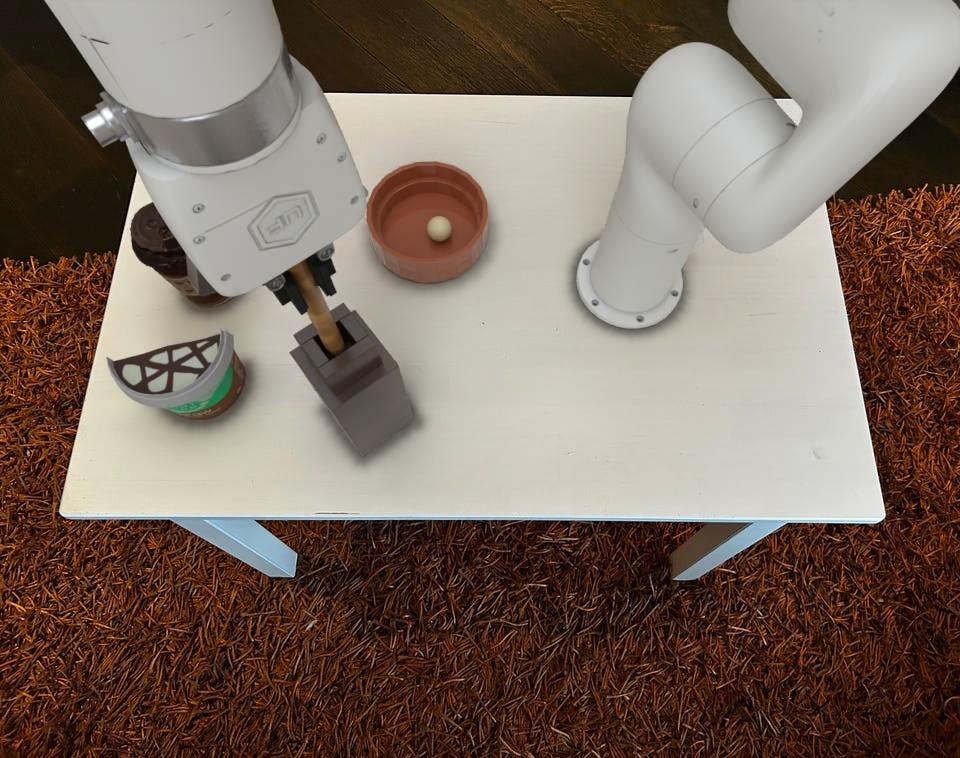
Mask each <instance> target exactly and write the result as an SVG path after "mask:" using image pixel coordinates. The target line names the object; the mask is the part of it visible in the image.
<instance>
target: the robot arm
mask: <svg viewBox="0 0 960 758" xmlns="http://www.w3.org/2000/svg"><path fill="white" fill-rule="evenodd" d="M44 2H45V4H46V5H47V6H48V8H49V10H50V11H51V12H52V13H53V15H54V16H55V18H56V19H57V20H58V22H59V24H60V25H61V26H62V28H63V29H64V30H65V32H66V33H67V35H68V36H69V38H70V39H71V41H72V43H73V44H74V45H75V47H76V48H77V50H78V52H79V53H80V55H82V58H83V59H84V60H85V62H86V63H87V65H88V66H89V68H90V69H91V71H92V72H93V74H94V76H95V77H96V79H97V80H98V81H99V83H100V84H101V86H102V88H104V90H103V91H102V92H100V93H99V96H100V97H101V98H102V100H103V101H101V102H99V103H96V104H95V105H94V106H95V107H96V109H94V110H93V111H90V112H88V113H85V114H84V115H82V116H81V117H80V118H81V120H82V122H83V123H84V125H85V126H86V127H87V129H88V130H89V131H90V132H91V134H92V136H93V138H95V139H96V141H97V142H98V143H99V144H100V146H101V147H102V148H105V147H106V146H108V145H111V144H112V143H114V142H116V141H118V140H119V141H120V142H121V143H122V142H124V141H125V143H126V144H125V145H126V146H127V149H128V153H129V155H130V158H131V160H132V163H133V165H134V167H135V169H136V172H137V174H138V176H139V178H140V180H141V182H142V183H143V185H144V187H145V190H146V192H147V193H148V196H149V197H150V199H151V201H152V202H153V203H154V205H155V206H156V208H157V210H158V211H159V213H160V215H161V216H162V218H163V220H164V221H165V223H166V224H167V226H168V228H169V229H170V231H171V232H172V233H173V235H174V236H175V238H176V239H177V241H178V242H179V244H180V245H181V247H182V248H183V250H184V251H185V253H186V262H187V272H188V279H189V281H190V283H191V284H192V285H193V287H194V288H195V290H196V291H197V293H198V294H199V295H200V296H206V295H209V294H212V293H215V292H218V293H219V294H221V295H223V296H233V297H239V296H241V295H244V294H247V293H250V292H252V291H254V290H255V289H257V288H259V287H262V286H263V287H266V288H267V290H268V291H269V292H272V294H273V295H274V297H275V298H276V299H277V300H278V302H279V303H280V305H281V306H282V307H284V306H287V304H288V303H292V305H293V306H294V308H295V309H296V310H297V311H298V313H299V314H300V316H303V315H305V314H307V312H308V310H307V309H309V307H308V305H307V303H306V301H305V299H304V297H303V295H302V293H301V291H300V289H299V287H298V285H297V283H296V282H295V280H294V279H293V278H292V276H291V275H290V274H289V272H288V271H287V270H288V269H290V268H291V267H293V266H295V265H296V264H298V263H300V262H301V261H303V260H304V259H307V262H308V264H309V266H310V268H311V270H312V273H313V275H314V277H315V279H316V282H317V284H318V286H319V288H320V290H321V292H322V293H324V294H325V296H326V297H329V296H330V297H333V296H334V295H336V294H338V292H337V289H336V287H335V284H334V282H333V279H332V276H334V275H335V274H337V270H336V266H335V265H334V262H333V259H332V257H333V256H334V255H335V252H336V248H335V244H334V242H335V241H337V240H338V239H339V238H341V237H343V236H344V235H345V234H347V233H349V232H350V231H351V230H352V229H354V228H356V226H357V225H358V224H359V223H360V222H361V221H362V220H363V219H364V216H366V213H367V202H368V200H367V198H368V196H369V190H368V189H367V188H366V187H365V185H364V184H363V182H362V179H361V176H360V173H359V170H358V168H357V165H356V163H355V160H354V158H353V155H352V152H351V150H350V147H349V145H348V142H347V141H346V138H345V135H344V133H343V130H342V128H341V126H340V124H339V122H338V119H337V117H336V115H335V113H334V110H333V109H332V106H331V104H330V102H329V101H328V99H327V97H326V95H325V93H324V91H323V89H322V88H321V86H320V84H319V82H318V81H317V80H316V77H315V76H314V75H313V74H312V72H311V71H309V69H308V68H307V67H305V66H304V65H303V64H302V63H300V61H299V60H297V58H295V57H294V56H293V55H292V54H290V53H289V51H288V47H287V44H286V41H285V38H284V35H283V31H282V28H281V24H280V21H279V18H278V15H277V13H276V8H275V6H274V2H273V0H44ZM727 17H728V21H729V24H730V26H731V28H732V31H733V32H734V34H735V36H736V37H737V38H738V39H739V41H740V42H741V44H742V45H744V47H745V49H747V51H748V52H749V53H750V54H751V55H752V56H753V57H754V59H755V60H756V61H757V62H758V63H759V64H760V65H761V66H762V68H763V69H764V70H766V72H767V73H768V74H769V75H770V76H771V77H772V78H773V80H775V82H776V83H777V84H778V85H779V86H780V87H781V89H782V90H784V91H785V92H786V94H787V95H788V96H789V97H790V98H791V99H792V100H793V101H794V102H795V103H796V104H797V106H798V107H800V109H801V113H802V114H801V118H800V120H799V123H798V124H797V123H796V122H794V120H793V119H792V118H791V117H790V116H789V115H788V114H787V113H786V111H785V110H783V108H782V107H781V106H780V105H779V104H778V102H777V101H776V99H775V98H774V97H773V96H772V95H771V94H770V93H769V92H768V91H767V89H765V88H764V87H763V85H762V84H761V83H760V82H759V81H758V80H757V79H756V78H755V77H754V76H753V74H752V73H750V71H749V70H748V69H747V68H746V67H745V66H744V65H743V64H742V63H741V62H740V61H738V60H737V59H736V58H735V57H734V56H733V55H731V54H730V53H729V52H727V51H726V50H724V49H722V48H721V47H718V46H716V45H713V44H710V43H706V42H701V41H700V42H694V41H693V42H687V43H682V44H680V45H677V46H675V47H673V48H671V49H669V50H667V51H666V52H664V53H663V54H661V55H660V56H659V57H658V58H657V59H656V60H655V61H654V62H652V64H651V65H650V66H649V67H648V68H647V69H646V70H645V72H644V73H643V75H642V76H641V78H640V80H639V82H638V84H637V85H636V88H635V89H634V92H633V94H632V96H631V100H630V103H629V108H628V113H627V119H626V128H625V151H624V152H625V153H624V160H623V165H622V169H621V173H620V176H619V180H618V183H617V186H616V189H615V192H614V195H613V198H612V201H611V204H610V207H609V210H608V214H607V216H606V220H605V222H604V226H603V228H602V229H603V230H602V232H601V236H600V239H597V240H596V241H594V242H593V243H592V244H590V246H588V248H587V249H586V250H585V251H584V253H583V254H582V256H581V258H580V260H579V262H578V266H577V269H576V275H575V282H576V288H577V293H578V295H579V297H580V299H581V301H582V302H583V304H584V306H585V307H586V309H588V310H589V312H590V313H592V314H593V315H594V316H595V317H596V318H598V319H599V320H601V321H603V322H604V323H606V324H609V325H611V326H614V327H617V328H622V329H630V330H631V329H637V330H639V329H643V328H649V327H652V326H654V325H657V324H658V323H660V322H661V321H664V320H665V319H666V318H667V317H668V316H669V315H670V314H672V313H673V311H674V309H675V308H676V307H677V305H678V303H679V301H680V300H681V297H682V293H683V285H684V279H683V274H682V269H683V267H684V266H685V264H686V262H687V260H688V259H689V257H690V255H691V253H692V251H693V250H695V249H696V248H697V247H699V246H701V245H702V244H703V243H704V241H705V239H704V235H703V232H704V231H705V229H706V230H707V231H708V232H709V233H710V235H711V236H712V237H713V238H714V239H715V240H716V241H717V242H718V243H719V244H720V245H721V246H722V247H724V248H725V249H728V250H729V251H731V252H733V253H737V254H744V255H745V254H746V255H747V254H754V253H758V252H761V251H763V250H766V249H768V248H770V247H772V246H774V245H775V244H777V243H778V242H780V241H781V240H782V239H784V238H785V237H787V236H788V235H790V234H791V233H792V232H793V231H794V230H796V229H797V228H798V227H799V226H800V225H802V223H803V222H805V221H806V220H807V219H808V218H810V216H812V215H813V214H814V213H815V212H816V211H817V210H818V209H819V208H821V207H822V205H824V204H825V203H826V202H827V201H829V199H830V198H831V197H833V195H834V194H835V193H836V192H838V191H839V190H840V189H841V188H842V187H844V185H846V183H848V181H850V180H852V178H853V177H854V176H855V175H856V174H858V172H860V171H861V170H862V169H863V168H864V167H865V166H866V165H867V164H868V163H869V162H870V161H872V160H873V158H875V157H876V156H877V155H878V154H879V153H880V152H882V150H884V149H885V147H886V146H888V145H889V144H890V143H891V142H892V141H893V140H895V139H896V138H897V136H899V135H900V134H901V133H902V132H903V131H904V130H905V129H907V128H908V127H909V126H910V125H911V124H912V123H913V122H914V121H915V120H916V119H917V118H918V117H919V116H920V115H921V114H922V113H923V112H924V111H925V110H926V109H927V108H928V107H929V106H930V105H931V104H932V103H933V102H934V101H935V100H936V98H937V97H939V95H940V94H941V93H942V91H944V89H946V87H947V86H948V84H950V82H951V81H952V79H953V78H954V76H955V75H956V73H957V71H958V70H959V68H960V8H959V6H958V5H957V3H955V2H954V1H953V0H728V3H727Z"/></svg>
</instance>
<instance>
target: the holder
mask: <svg viewBox="0 0 960 758" xmlns="http://www.w3.org/2000/svg"><path fill="white" fill-rule="evenodd" d="M330 312H331V314H332V317H333V319H334V321H335V323H336V326H337V328H338V330H339V332H340V334H341V337H342V339H343V341H344V343H345V350H344V352H342V353H341V354H339V355H338V356H332V355H330V354H329V353H328V352H327V350H326V348H325V346H324V344H323V343H322V341H321V339H320V337H319V335H318V333H317V331H316V329H315V327H314V325H313V323H312V322H310V323H309V324H308V325H306V326H305V327H303V328H302V329H300V330H298V331H297V332H295V333H294V334H293V335H292V336H293V338H294V340H295V341H296V343H297V344H298V346H297V347H295V348H293V349H291V351H290V352H289V355H290V356H291V357H292V359H293V360H294V362H295V364H297V366H298V368H299V369H300V371H301V372H302V373H303V375H304V376H305V378H306V380H307V381H308V383H309V384H310V386H311V387H312V388H313V390H314V391H315V393H316V395H317V396H318V398H319V399H320V400H321V402H322V403H323V405H324V406H325V408H326V409H327V411H328V412H329V413H330V415H331V416H332V417H333V419H334V420H335V422H336V423H337V424H338V426H339V427H340V429H341V430H342V431H343V433H344V434H345V435H346V437H347V438H348V440H349V442H351V444H352V445H353V447H354V449H356V451H357V452H358V454H359V455H360V457H362V458H364V457H366V455H368V454H369V453H371V452H372V451H373V450H375V449H376V448H378V447H379V446H381V445H382V444H383V443H385V442H387V441H388V440H389V439H390V438H392V437H393V436H394V435H396V434H398V432H400V431H402V430H403V429H405V428H406V427H407V426H409V425H410V424H411V423H413V422H414V421H415V416H414V413H413V410H412V406H411V402H410V400H409V399H410V398H409V395H408V393H407V389H406V385H405V382H404V378H403V376H402V372H401V368H400V365H399V364H398V362H397V361H396V360H395V358H393V356H392V355H391V354H390V352H389V351H388V350H387V349H386V347H385V346H384V344H383V343H382V342H381V341H380V339H379V338H378V336H376V334H375V333H374V332H373V330H372V329H371V328H370V327H369V326H368V324H367V323H366V322H365V320H364V319H363V317H362V316H361V315H360V314H359V313H358V311H357V310H356V309H353V310H352V311H351V310H350V309H349V308H348V307H347V305H346V304H345V303H344V302H342V303H340V304H339V305H337V306H336V307H334V308H333V309H330Z"/></svg>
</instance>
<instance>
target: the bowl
mask: <svg viewBox="0 0 960 758" xmlns="http://www.w3.org/2000/svg"><path fill="white" fill-rule="evenodd" d="M488 206H489V205H488V200H487V197H486V195H485V193H484V190H483V188H482V187H481V185H480V183H478V181H476V179H475V178H474V177H473V176H472V175H471V174H470V173H468V172H466V171H464V170H462V168H459V167H457V166H456V165H454V164H449V163H445V162H442V161H435V160H434V161H433V160H432V161H429V160H427V161H415V162H412V163H409V164H408V163H407V164H404V165H402V166H399V167H397V168H396V169H394V170H392V171H391V172H389V173H387V174H386V175H384V176H383V177H382V178H381V180H379V182H378V183H377V184H376V185H375V186H374V187H373V189H372V191H371V193H370V196H369V198H368V200H367V209H366V212H365V220H366V224H367V225H366V226H367V228H368V232H369V236H370V239H371V243H372V246H373V248H374V251H375V254H376V257H377V258H378V259H379V260H380V261H381V263H382V264H383V265H384V266H385V268H387V270H389V271H391V272H392V273H394V274H396V275H398V276H399V277H400V278H403V279H406V280H410V281H412V282H413V281H414V282H418V283H440V282H441V283H442V282H443V281H447V280H450V279H454V278H456V277H459V276H460V275H462V274H463V273H464V272H466V271H467V270H470V268H472V267H473V266H474V265H475V264H476V262H477V261H478V259H479V258H480V257H481V256H482V255H483V252H484V250H485V247H486V244H487V241H488V234H489V233H488V231H489V230H488V229H489V207H488ZM436 216H442V217H445V218H447V219H448V220H449V221H450V223H451V226H452V232H451V235H450V236H449V238H448V239H446V240H444V241H440V242H439V241H435V240H433V239H432V238H431V237H430V236H429V235H428V232H427V225H428V223H429V221H430V220H431V219H432V218H434V217H436Z"/></svg>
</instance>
